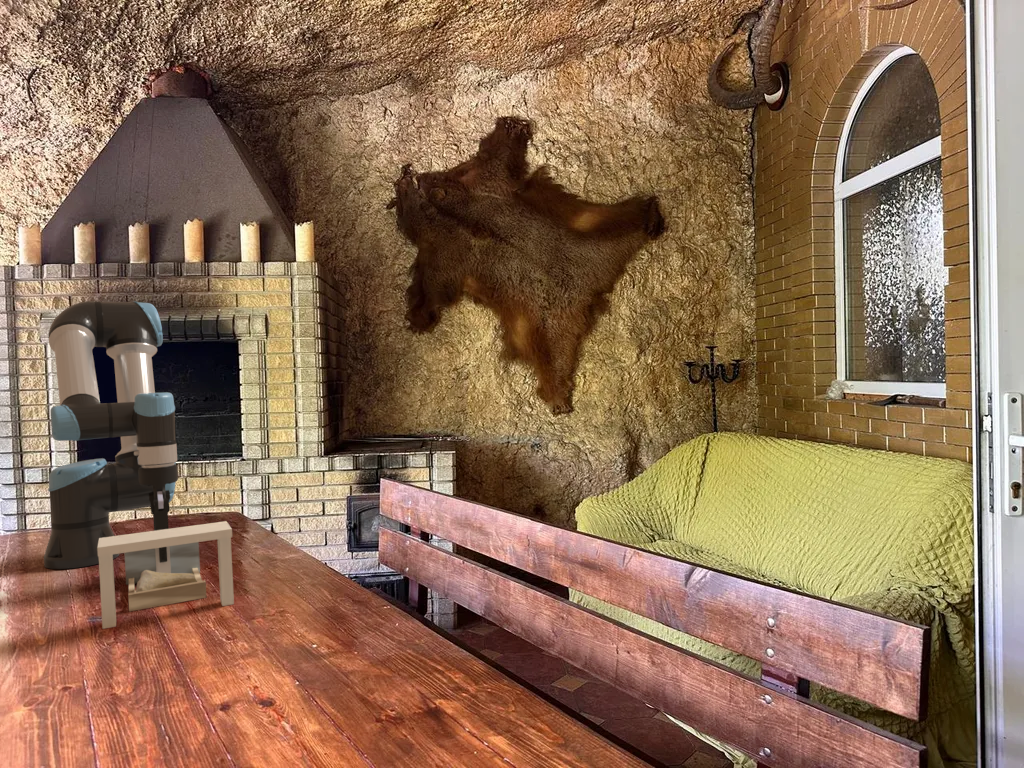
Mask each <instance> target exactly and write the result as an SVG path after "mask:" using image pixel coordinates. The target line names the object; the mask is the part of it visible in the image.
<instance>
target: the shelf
mask: <svg viewBox="0 0 1024 768" xmlns="http://www.w3.org/2000/svg"><path fill="white" fill-rule="evenodd" d="M231 538H233V528H232V527H231V526H230V524H229V522H227V521H226V520H224V521H218V522H210V523H203V524H196V525H195V524H194V525H188V526H180V527H179V526H178V527H173V528H169V529H164V530H156V531H154V530H150V531H141V532H135V533H128V534H120V535H114V536H111V537H104V538H99V541H98V547H97V550H98V557H99V564H98V571H99V572H98V573H99V588H100V591H99V592H100V604H101V605H100V609H101V626H102V628H101V629H103V630H104V629H109V628H114V627H117V613H116V611H117V610H116V609H117V607H116V590H115V588H116V587H115V574H114V571H115V570H114V559H113V554H119V555H120V554H124V553H126V552H133V551H140V550H147V549H154V548H161V547H168V546H175V545H182V544H189V543H195V542H199V543H200V542H201V543H202V542H208V541H209V542H210V541H216V540H217V541H216V543H217V558H218V560H217V561H218V579H219V581H218V582H219V596H220V597H219V599H220V604H221V606H222V607H227V606H232V605H235V598H234V593H235V592H234V578H233V577H234V575H233V556H232V539H231Z"/></svg>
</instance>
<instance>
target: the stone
mask: <svg viewBox="0 0 1024 768" xmlns="http://www.w3.org/2000/svg"><path fill="white" fill-rule="evenodd" d="M193 582H198V581H197V580H196V578H195V575H194V574H192V573H160V572H154V571H149V570H145V571H143V572H142V573H141V577H140V580H139V581H138V583H136V589H135V590H136V592H140V591H146V590H152V589H158V588H164V587H169V586H175V585H181V584H187V583H193Z"/></svg>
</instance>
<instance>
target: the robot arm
mask: <svg viewBox="0 0 1024 768" xmlns="http://www.w3.org/2000/svg"><path fill="white" fill-rule="evenodd" d="M161 322H162V321H161V318H160V315H159V313H158V310H157V308H156V307H155V306H154V304H152V303H150V302H141V301H139V302H138V301H135V300H134V301H94V300H88V301H86V300H85V301H82V302H81V301H80V302H77V303H75V304H72V305H70V306H68V307H66V308H65V309H64V310H62V311H61V312H60V313H59V314H58V315H56V317H55V319H54V320H53V321H52V323H51V325H50V327H49V330H48V344H49V347H50V349H51V351H52V352H54V357H55V366H56V375H57V376H56V377H57V389H58V397H59V398H58V399H59V405H56V406H52V407H51V408H50V413H49V414H50V426H51V427H50V428H51V429H50V430H51V437H52V439H53V440H55V441H57V442H58V441H60V442H62V441H63V442H64V441H66V442H67V441H71V442H72V441H73V442H76V441H84V440H85V441H86V440H94V439H95V440H96V439H107V438H120V444H121V445H120V446H121V449H120V451H118V452H117V453H116V455H115V456H114V458H115V459H114V460H115V462H114V463H108V461H107V460H106V459H105V458H103V457H102V458H94V459H85V460H81V461H76V462H71V463H68V464H64V465H61V466H58V467H56V468H54V469H52V470H51V471H50V472H49V475H48V489H47V491H48V492H49V507H50V508H49V509H50V529H51V531H50V532H51V533H50V535H49V540H48V543H47V545H46V548H45V552H44V556H43V565H44V568H47V569H50V570H51V569H52V570H65V569H75V568H76V569H77V568H83V567H84V568H85V567H90V566H94V565H99V557H98V550H97V547H98V541H99V538H104V537H111V536H115V534H114V532H113V530H112V527H111V525H110V516H109V515H110V514H109V513H115V512H122V511H123V512H124V511H129V510H137V509H145V508H146V509H147V508H150V511H151V514H152V519H153V531H156V530H164V529H170V527H169V513H170V510H171V509H170V502H171V501H172V500H173V498H174V495H175V489H176V484H177V483H176V482H178V481H179V472H178V465H177V463H176V462H177V461H178V450H177V449H178V448H177V439H176V416H175V415H176V414H175V411H176V406H175V402H174V401H175V399H174V395H173V394H172V392H169V391H168V392H167V391H166V392H156V391H155V390H156V389H155V379H154V371H153V370H154V368H153V359H152V357H154V356H155V355H156V354H157V352H158V347H161V346H162V344H163V341H164V340H163V339H164V336H163V335H164V334H163V327H162V323H161ZM95 347H96V348H105V350H106V351H105V352H106V355H107V356H109V358H111V359H112V360H113V363H114V364H113V365H114V374H115V388H116V399H117V402H108V403H107V402H106V403H103V402H102V403H101V401H100V394H99V392H100V391H99V387H98V386H99V385H98V380H97V373H96V367H95V360H94V355H93V349H94V348H95ZM155 555H156V572H160V573H171V563H170V546H168V547H161V548H155ZM119 556H120V553H119V554H113V560H115V559H116V558H118V557H119Z"/></svg>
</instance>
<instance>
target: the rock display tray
mask: <svg viewBox="0 0 1024 768" xmlns="http://www.w3.org/2000/svg"><path fill="white" fill-rule="evenodd" d="M199 543H200V542H195V543H189V544H182V545H175V546H170V563H171V573H192V574H194V575H195V578H196V580H197V581H198V582H193V583H187V584H181V585H175V586H169V587H164V588H158V589H152V590H146V591H140V592H136V589H135V584H137V583H138V581H139V580H140V577H141V573H142V572H143V571H145V570H149V571H154V572H156V555H155V548H154V549H147V550H140V551H133V552H126V553H123V554H124V568H125V569H124V571H125V585H126V586H127V585H128V595H127V596H128V611H129V612H134V611H140V610H145V609H146V610H147V609H150V608H155V607H162V606H166V605H167V606H168V605H173V604H177V603H178V604H179V603H185V602H189V601H194V600H200V599H206V598H207V583H206V580H203V579H202V576H201V574H200V573H201V564H200V561H201V560H200V544H199Z"/></svg>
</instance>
